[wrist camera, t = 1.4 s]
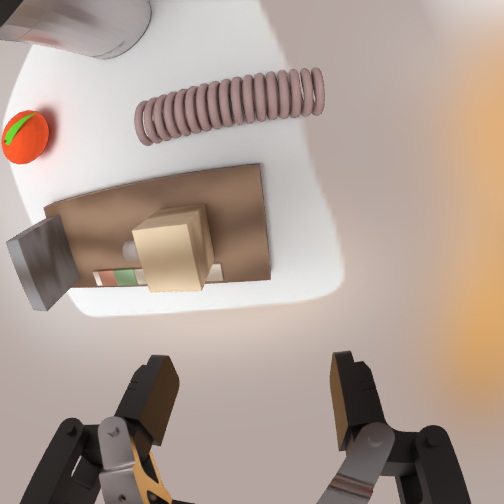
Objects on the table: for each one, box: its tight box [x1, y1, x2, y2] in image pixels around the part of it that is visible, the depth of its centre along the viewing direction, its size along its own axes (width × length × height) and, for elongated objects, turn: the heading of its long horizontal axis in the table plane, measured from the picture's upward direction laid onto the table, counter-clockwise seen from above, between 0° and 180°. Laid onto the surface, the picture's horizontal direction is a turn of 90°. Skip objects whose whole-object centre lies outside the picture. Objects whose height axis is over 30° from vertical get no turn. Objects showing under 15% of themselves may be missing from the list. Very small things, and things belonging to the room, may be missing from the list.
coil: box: [134, 68, 325, 146], centre depth 22 cm, size 5×5×18 cm
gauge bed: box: [6, 164, 271, 311], centre depth 26 cm, size 12×28×10 cm, turn 97°
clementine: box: [2, 110, 49, 164], centre depth 22 cm, size 8×7×7 cm
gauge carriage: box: [123, 204, 215, 292], centre depth 26 cm, size 8×8×6 cm
